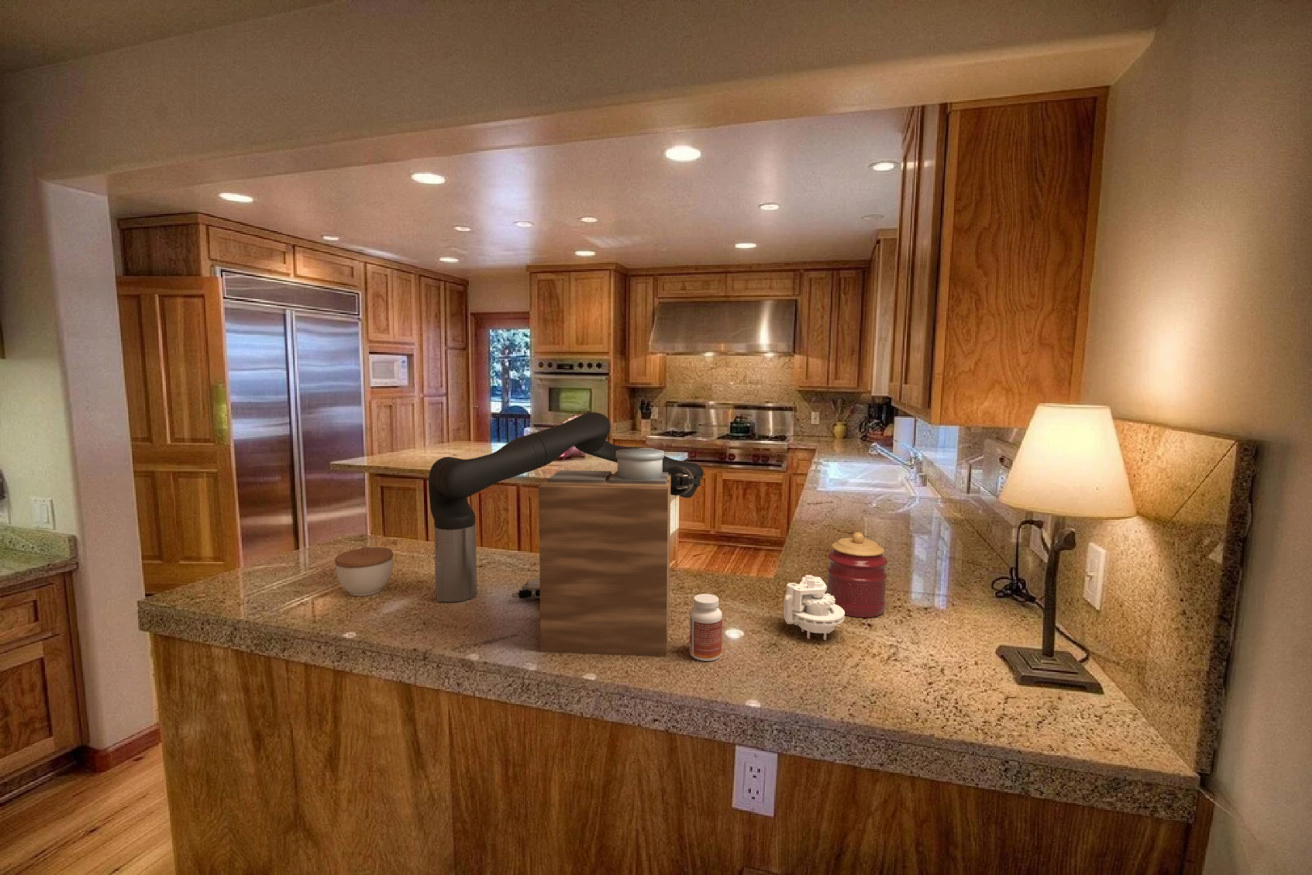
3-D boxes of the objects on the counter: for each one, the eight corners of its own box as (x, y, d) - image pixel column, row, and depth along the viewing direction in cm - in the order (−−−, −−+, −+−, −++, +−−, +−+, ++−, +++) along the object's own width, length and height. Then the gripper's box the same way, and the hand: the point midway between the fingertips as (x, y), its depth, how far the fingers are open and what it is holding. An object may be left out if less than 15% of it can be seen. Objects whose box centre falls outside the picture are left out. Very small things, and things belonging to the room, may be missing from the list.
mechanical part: (837, 651, 110) (839, 591, 109) (776, 637, 116) (778, 580, 115) (848, 629, 120) (851, 574, 119) (792, 617, 126) (794, 565, 125)
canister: (836, 592, 141) (838, 522, 139) (891, 604, 133) (895, 531, 131) (817, 609, 130) (820, 534, 128) (876, 623, 123) (880, 543, 121)
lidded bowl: (365, 603, 132) (363, 557, 131) (324, 596, 136) (321, 551, 135) (405, 585, 144) (404, 542, 142) (366, 579, 148) (364, 537, 146)
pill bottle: (728, 656, 108) (729, 599, 107) (703, 665, 104) (704, 607, 103) (707, 643, 113) (708, 589, 112) (682, 652, 109) (683, 596, 108)
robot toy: (509, 608, 132) (567, 612, 127) (507, 589, 132) (565, 592, 127) (537, 590, 144) (590, 593, 139) (535, 572, 143) (589, 575, 138)
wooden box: (666, 656, 108) (667, 485, 104) (540, 651, 109) (538, 483, 106) (669, 620, 123) (670, 471, 120) (559, 617, 125) (558, 469, 122)
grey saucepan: (662, 480, 109) (662, 454, 109) (612, 479, 110) (612, 454, 110) (667, 463, 132) (667, 442, 132) (626, 462, 133) (626, 441, 132)
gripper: (651, 467, 153) (637, 466, 137) (704, 466, 150) (696, 465, 134) (652, 495, 153) (637, 497, 137) (705, 494, 150) (696, 497, 134)
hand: (666, 481), depth 136 cm, fingers open, 8 cm apart
